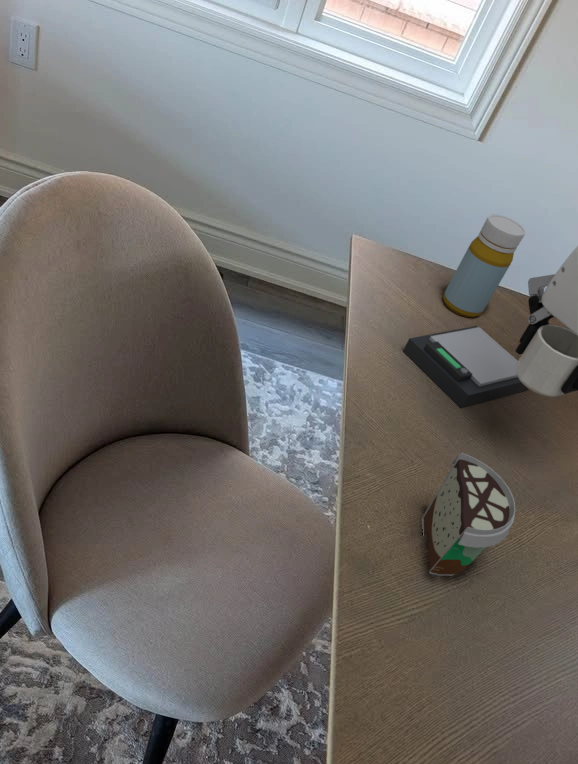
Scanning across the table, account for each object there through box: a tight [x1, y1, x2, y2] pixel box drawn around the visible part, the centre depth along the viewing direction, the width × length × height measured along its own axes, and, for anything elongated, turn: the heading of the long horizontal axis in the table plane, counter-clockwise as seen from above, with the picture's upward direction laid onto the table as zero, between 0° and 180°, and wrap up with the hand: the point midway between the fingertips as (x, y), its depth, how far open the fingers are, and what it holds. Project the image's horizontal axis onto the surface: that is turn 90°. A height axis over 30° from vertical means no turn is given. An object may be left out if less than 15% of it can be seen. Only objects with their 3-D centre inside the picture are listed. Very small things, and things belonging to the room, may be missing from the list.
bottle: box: [442, 214, 526, 318], centre depth 121 cm, size 7×7×15 cm
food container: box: [421, 452, 516, 577], centre depth 81 cm, size 12×6×10 cm, turn 170°
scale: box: [402, 325, 530, 409], centre depth 111 cm, size 15×13×4 cm
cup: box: [515, 323, 578, 398], centre depth 91 cm, size 7×7×6 cm
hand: (546, 369), depth 92 cm, fingers closed on cup, 6 cm apart
